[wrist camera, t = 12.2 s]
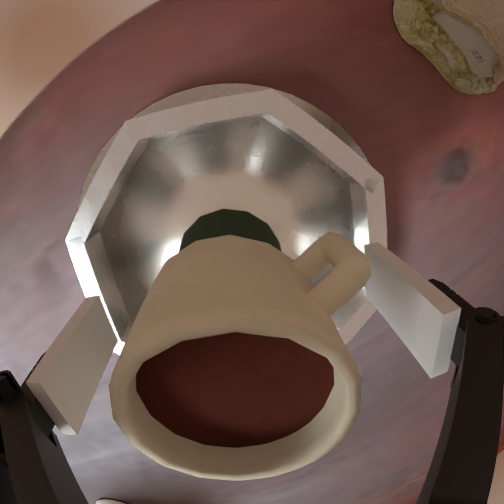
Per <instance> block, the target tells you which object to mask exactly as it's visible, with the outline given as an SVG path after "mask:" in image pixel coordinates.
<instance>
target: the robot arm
mask: <svg viewBox="0 0 504 504" xmlns="http://www.w3.org/2000/svg"><path fill="white" fill-rule="evenodd" d="M364 249H365V255H366V256H367V257H368V261H369V265H370V270H371V277H370V278H369V280H368V281H367V282H366V296H367V297H368V299H369V300H370V301H371V302H372V304H373V305H374V306H375V307H376V308H377V310H378V311H379V312H380V313H381V315H382V316H383V317H384V318H385V320H386V321H387V322H388V323H389V325H390V326H391V327H392V329H393V330H394V331H395V332H396V334H397V335H398V336H399V337H400V339H401V340H402V341H403V343H404V344H405V345H406V346H407V348H408V349H409V350H410V352H411V353H412V354H413V356H414V357H415V358H416V359H417V361H418V362H419V363H420V365H421V366H422V367H423V369H424V370H425V371H426V373H427V374H428V375H429V377H430V378H433V377H436V376H438V375H441V374H443V373H445V372H447V371H448V368H449V364H450V360H452V361H453V362H454V363H455V364H456V368H455V372H454V375H453V379H452V382H451V385H450V387H451V392H450V397H449V402H448V406H447V410H446V414H445V418H444V422H443V426H442V430H441V433H440V437H439V440H438V444H437V447H436V450H435V454H434V457H433V460H432V463H431V466H430V469H429V472H428V474H427V477H426V480H425V483H424V485H423V488H422V490H421V493H420V495H419V498H418V500H417V503H416V504H487V500H488V496H489V492H490V488H491V483H492V479H493V474H494V469H495V462H496V456H497V451H498V444H499V436H500V427H501V417H502V403H503V384H504V316H500V315H499V314H498V313H497V312H496V311H494V310H492V309H490V308H486V307H478V308H474V307H472V306H471V305H470V304H469V303H468V302H466V301H465V300H464V299H463V298H461V297H460V296H459V295H458V294H457V295H456V293H455V292H454V291H453V290H450V288H449V287H448V286H446V285H445V284H444V283H442V282H440V281H437V280H434V279H430V280H427V279H425V278H424V277H423V276H422V275H420V274H419V273H418V272H417V271H415V270H414V269H413V268H412V267H410V266H409V265H408V264H406V263H405V262H404V261H403V260H401V259H400V258H399V257H397V256H396V255H395V254H393V253H392V252H391V251H390V250H388V249H387V248H386V247H384V246H383V245H382V244H380V243H379V242H377V243H372V244H367V245H364ZM117 342H118V339H117V337H116V335H115V333H114V330H113V328H112V326H111V323H110V321H109V319H108V316H107V314H106V311H105V309H104V306H103V304H102V301H101V299H100V296H99V295H98V296H92V297H87V298H86V299H85V300H84V302H83V303H82V304H81V305H80V307H79V308H78V309H77V311H76V312H75V313H74V315H73V316H72V317H71V319H70V320H69V321H68V323H67V324H66V325H65V327H64V328H63V329H62V331H61V332H60V333H59V335H58V336H57V338H56V339H55V340H54V342H53V343H52V345H51V346H50V347H49V349H48V350H47V351H46V352H45V353H44V354H43V355H42V356H41V357H40V359H39V360H38V362H37V364H36V365H35V366H34V367H33V370H31V372H30V373H29V375H28V376H27V378H26V379H25V381H24V382H23V384H22V386H21V387H20V386H19V384H18V383H17V381H16V379H15V378H14V376H13V375H12V373H11V371H8V370H6V371H1V372H0V504H88V502H87V500H86V498H85V496H84V494H83V493H82V491H81V489H80V487H79V485H78V483H77V481H76V479H75V477H74V475H73V473H72V471H71V468H70V466H69V464H68V462H67V460H66V457H65V455H64V453H63V451H62V448H61V446H60V443H59V441H58V438H57V436H56V435H55V434H54V432H53V431H52V429H53V427H54V425H56V426H57V427H58V429H59V430H60V431H61V432H62V434H70V435H78V432H79V429H80V427H81V424H82V422H83V419H84V417H85V414H86V412H87V410H88V407H89V405H90V402H91V400H92V398H93V395H94V393H95V390H96V388H97V386H98V383H99V381H100V379H101V377H102V374H103V372H104V370H105V368H106V365H107V363H108V361H109V359H110V357H111V354H112V352H113V350H114V348H115V346H116V344H117Z"/></svg>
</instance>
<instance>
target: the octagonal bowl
mask: <svg viewBox="0 0 504 504" xmlns="http://www.w3.org/2000/svg"><path fill="white" fill-rule="evenodd" d="M220 209H231V210H240V211H248V212H249V213H251V214H253V215H254V216H256V217H258V218H259V219H261V220H262V221H264V222H266V223H267V224H268V225H269V226H270V228H271V229H272V231H273V233H274V234H275V236H276V237H277V239H278V241H279V242H280V247H281V251H282V252H283V253H284V254H286V255H287V256H289V257H290V258H292V259H293V260H295V259H297V258H298V257H299V256H300V255H301V254H302V253H303V252H304V251H305V250H306V249H307V248H308V247H309V246H311V245H312V244H313V243H314V242H315V241H316V240H317V239H319V238H320V237H321V236H323V235H324V234H326V233H327V232H328V231H329V232H336V233H338V234H341V235H343V236H344V237H346V238H347V239H348V240H349V241H350V242H351V243H352V244H354V245H355V246H356V247H357V248H358V249H359V250H360V251H362V252H363V253H364V254H365V249H364V245H367V244H372V243H377V242H379V243H380V244H382V245H383V246H384V247H386V248H387V220H386V204H385V189H384V177H383V176H382V175H381V174H380V173H378V172H377V171H376V170H375V169H374V168H373V167H372V166H371V165H370V163H369V162H368V160H367V158H366V156H365V155H364V153H363V151H362V150H361V149H360V147H359V146H358V145H357V143H356V142H355V141H354V140H353V139H352V137H351V136H350V135H349V134H348V132H346V131H345V130H344V129H343V128H342V127H341V126H340V125H339V124H338V123H337V122H336V121H335V120H334V119H332V118H331V117H330V116H328V115H327V114H326V113H324V112H323V111H321V110H320V109H318V108H317V107H315V106H314V105H312V104H310V103H308V102H306V101H304V100H302V99H300V98H298V97H296V96H294V95H292V94H289V93H286V92H282V91H279V90H276V89H273V88H270V87H264V86H258V85H251V84H239V83H221V84H213V85H206V86H199V87H195V88H191V89H188V90H184V91H181V92H178V93H175V94H172V95H170V96H168V97H166V98H164V99H161V100H159V101H157V102H155V103H153V104H152V105H150V106H148V107H147V108H145V109H144V110H142V111H141V112H139V113H138V114H136V115H135V116H133V117H132V118H131V119H130V120H127V121H125V123H124V124H123V126H122V127H121V128H120V129H119V130H118V131H117V132H116V133H115V134H114V135H113V137H112V138H111V139H110V140H109V141H108V143H107V144H106V145H105V146H104V147H103V149H102V150H101V152H100V154H99V155H98V157H97V158H96V160H95V162H94V163H93V165H92V167H91V169H90V171H89V174H88V176H87V178H86V181H85V183H84V185H83V188H82V192H81V196H80V200H79V203H78V208H77V214H76V216H75V219H74V221H73V223H72V225H71V228H70V230H69V233H68V235H67V237H66V240H65V241H66V244H67V247H68V250H69V253H70V256H71V259H72V262H73V265H74V267H75V270H76V273H77V276H78V278H79V281H80V284H81V286H82V289H83V292H84V294H85V297H86V298H87V297H92V296H98V295H99V296H100V299H101V301H102V304H103V306H104V309H105V311H106V314H107V316H108V319H109V321H110V323H111V326H112V328H113V330H114V333H115V335H116V337H117V339H118V342H117V344H116V346H115V348H114V350H113V352H115V353H117V354H119V355H120V354H121V351H122V349H123V347H124V344H125V342H126V340H127V337H128V335H129V333H130V330H131V328H132V326H133V324H134V321H135V319H136V317H137V315H138V313H139V310H140V308H141V306H142V304H143V302H144V299H145V297H146V295H147V293H148V291H149V289H150V287H151V286H152V284H153V282H154V280H155V279H156V277H157V275H158V274H159V272H160V270H161V269H162V267H163V265H164V264H165V262H166V261H167V260H168V259H169V258H170V257H172V256H173V255H175V254H176V253H178V251H179V248H180V244H181V241H182V238H183V235H184V233H185V232H186V230H187V229H188V228H189V227H190V226H191V225H192V224H193V223H194V222H195V221H196V220H197V219H198V218H199V217H200V216H203V215H205V214H208V213H211V212H214V211H217V210H220ZM333 269H334V267H333V266H332V265H331V264H330V265H329V266H328V267H327V268H325V269H324V270H323V271H322V272H321V273H320V274H319V275H318V276H317V277H316V278H314V279H313V280H312V281H311V282H310V283H311V285H312V286H313V287H314V286H315V285H317V284H318V283H319V282H320V281H321V280H322V279H323V278H324V277H325V276H327V275H328V274H329V273H330V272H331V271H332V270H333ZM376 310H377V308H376V307H375V306H374V305H373V304H372V302H371V301H370V300H369V299H368V297H367V296H366V284H365V285H364V287H363V288H362V289H360V290H359V291H358V292H357V293H356V294H355V295H354V296H353V297H352V298H351V299H349V300H348V301H347V302H346V303H345V304H344V305H343V306H342V307H340V308H339V309H338V310H337V311H336V312H335V313H334V314H332V315H331V318H332V320H333V322H334V324H335V326H336V328H337V330H338V332H339V334H340V336H341V338H342V340H343V342H344V344H345V345H346V344H347V343H348V342H349V341H350V340H351V339H352V338H353V337H354V335H355V334H356V333H357V332H358V331H359V330H360V329H361V328H362V326H363V325H364V324H365V323H366V322H367V321H368V319H369V318H370V317H371V316H372V315H373V314H374V312H375V311H376Z"/></svg>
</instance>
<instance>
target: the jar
mask: <svg viewBox="0 0 504 504" xmlns="http://www.w3.org/2000/svg"><path fill="white" fill-rule="evenodd" d="M96 504H126V503H122V502H119V501H115V500H108V499H101V500H98V501H97V502H96Z"/></svg>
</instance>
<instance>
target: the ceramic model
mask: <svg viewBox="0 0 504 504" xmlns="http://www.w3.org/2000/svg"><path fill="white" fill-rule="evenodd" d="M393 15H394V21H395V23H396V27H397V29H398V31H399V33H400V35H401V37H402V38H403V39H404V40H405V41H406V42H407V43H408V44H409V45H411V46H413V47H414V48H416V49H417V50H418V51H419V52H421V53H422V54H423V55H424V56H425V57H426V58H427V59H428V60H429V61H430V62H431V63H432V64H433V65H434V66H435V67H436V69H438V71H439V72H440V74H441V75H442V76H443V77H444V79H445V80H446V81H447V82H448V83H449V84H450V85H451V87H453V88H454V89H456V90H458V91H459V92H461V93H466V94H476V95H479V94H482V93H490V92H493V91H495V90H496V88H497V87H498V85H499V83H501V82H503V81H504V0H394V6H393Z"/></svg>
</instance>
